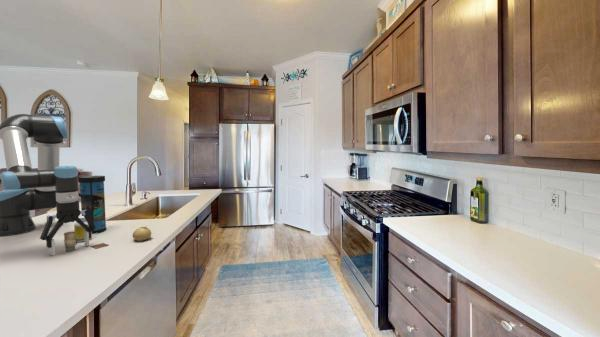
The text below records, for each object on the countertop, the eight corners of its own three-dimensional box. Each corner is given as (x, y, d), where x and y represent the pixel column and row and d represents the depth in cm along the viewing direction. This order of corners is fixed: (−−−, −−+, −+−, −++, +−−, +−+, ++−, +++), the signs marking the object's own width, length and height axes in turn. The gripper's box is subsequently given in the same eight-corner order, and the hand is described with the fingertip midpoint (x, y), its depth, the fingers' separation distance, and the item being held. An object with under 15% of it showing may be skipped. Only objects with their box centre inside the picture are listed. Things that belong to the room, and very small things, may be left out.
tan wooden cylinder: (63, 250, 115) (62, 233, 115) (73, 248, 119) (72, 230, 118) (67, 252, 114) (66, 234, 113) (77, 249, 117) (76, 232, 116)
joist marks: (69, 238, 132) (69, 237, 132) (81, 235, 136) (81, 234, 136) (95, 248, 118) (95, 248, 118) (108, 245, 122) (108, 244, 122)
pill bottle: (82, 242, 125) (81, 219, 125) (71, 241, 127) (70, 218, 126) (95, 238, 132) (94, 215, 131) (85, 237, 133) (83, 214, 132)
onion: (131, 243, 125) (131, 229, 125) (133, 238, 132) (133, 224, 132) (151, 241, 129) (150, 226, 128) (151, 236, 136) (151, 222, 135)
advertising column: (86, 236, 135) (83, 178, 133) (77, 232, 141) (74, 176, 138) (111, 230, 144) (108, 176, 142) (101, 227, 150) (99, 175, 148)
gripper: (33, 207, 102) (37, 261, 104) (103, 197, 123) (105, 243, 124) (26, 205, 106) (30, 257, 108) (95, 196, 127) (97, 240, 128)
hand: (70, 249), depth 116 cm, fingers open, 11 cm apart
